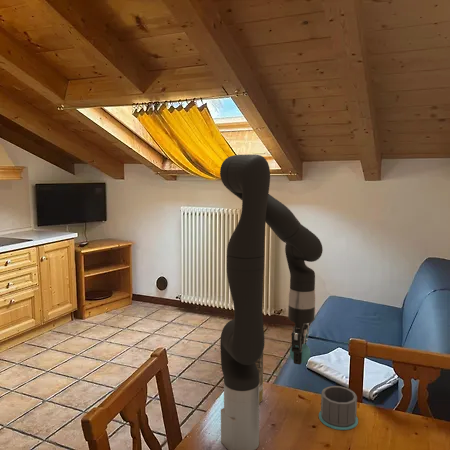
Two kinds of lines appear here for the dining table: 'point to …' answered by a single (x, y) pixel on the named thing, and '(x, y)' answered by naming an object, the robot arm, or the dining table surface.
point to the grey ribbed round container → (338, 408)
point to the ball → (305, 353)
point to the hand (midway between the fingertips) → (299, 358)
